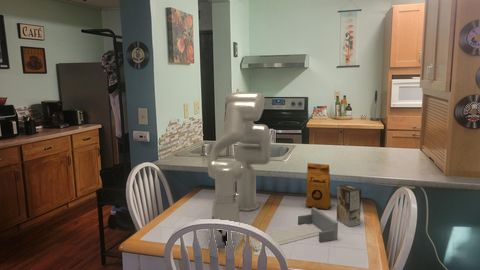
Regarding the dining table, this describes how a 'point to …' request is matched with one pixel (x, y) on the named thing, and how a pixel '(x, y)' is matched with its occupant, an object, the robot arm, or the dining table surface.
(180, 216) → the dining table surface
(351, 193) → the coffee box
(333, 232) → the u-shaped bracket
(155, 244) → the dining table surface
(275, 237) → the baseboard molding
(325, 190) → the coffee package
